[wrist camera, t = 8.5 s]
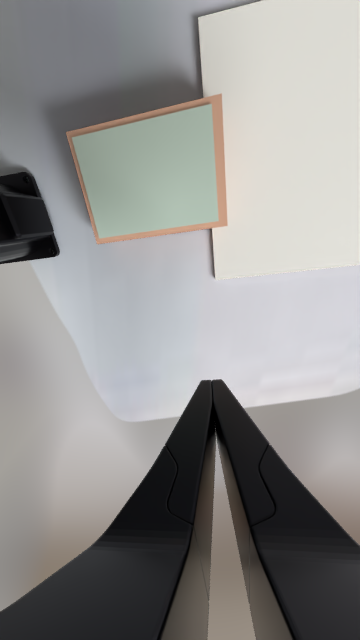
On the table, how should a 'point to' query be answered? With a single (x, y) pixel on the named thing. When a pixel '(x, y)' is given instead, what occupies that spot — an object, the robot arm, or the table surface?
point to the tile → (154, 171)
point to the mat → (286, 134)
